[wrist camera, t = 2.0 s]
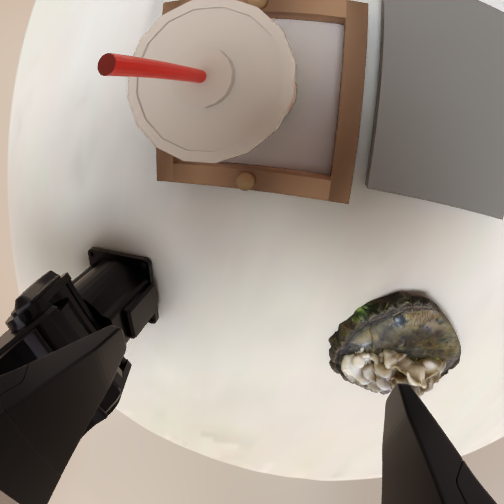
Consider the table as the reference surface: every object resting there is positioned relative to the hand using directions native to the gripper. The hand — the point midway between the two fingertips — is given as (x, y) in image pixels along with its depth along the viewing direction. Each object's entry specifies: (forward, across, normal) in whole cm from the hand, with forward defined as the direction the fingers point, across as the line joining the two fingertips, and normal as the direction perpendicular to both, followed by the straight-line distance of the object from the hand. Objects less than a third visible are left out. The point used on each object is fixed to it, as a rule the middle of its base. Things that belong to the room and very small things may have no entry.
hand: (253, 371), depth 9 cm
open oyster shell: (+13, -10, +9) cm, 19 cm away
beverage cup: (+13, +3, -8) cm, 16 cm away
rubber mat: (+12, -9, -10) cm, 19 cm away
